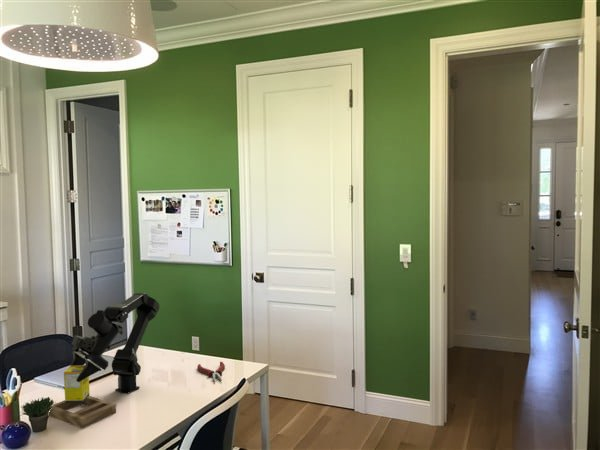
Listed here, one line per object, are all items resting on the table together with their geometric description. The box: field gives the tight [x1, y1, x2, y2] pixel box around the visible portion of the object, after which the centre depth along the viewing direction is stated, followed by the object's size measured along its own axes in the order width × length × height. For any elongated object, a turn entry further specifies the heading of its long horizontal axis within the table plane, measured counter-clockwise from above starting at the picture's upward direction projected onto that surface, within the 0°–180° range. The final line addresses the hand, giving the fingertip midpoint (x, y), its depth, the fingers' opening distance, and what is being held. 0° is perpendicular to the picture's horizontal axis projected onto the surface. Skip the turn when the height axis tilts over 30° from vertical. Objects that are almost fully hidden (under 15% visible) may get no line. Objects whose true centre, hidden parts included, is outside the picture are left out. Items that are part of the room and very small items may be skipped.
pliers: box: [196, 361, 226, 383], centre depth 200 cm, size 12×20×3 cm, turn 20°
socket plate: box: [48, 395, 117, 429], centre depth 163 cm, size 18×13×3 cm
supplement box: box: [63, 364, 90, 403], centre depth 164 cm, size 6×6×11 cm
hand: (72, 378), depth 163 cm, fingers closed on supplement box, 8 cm apart
